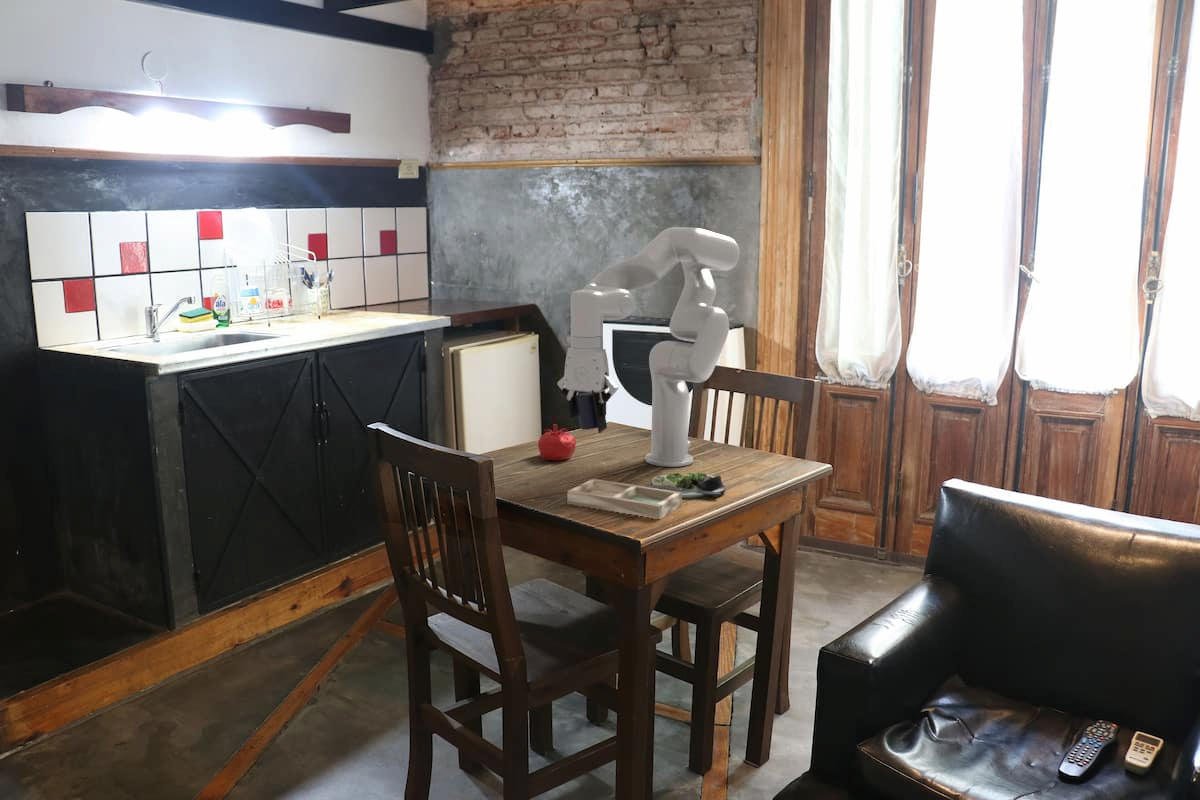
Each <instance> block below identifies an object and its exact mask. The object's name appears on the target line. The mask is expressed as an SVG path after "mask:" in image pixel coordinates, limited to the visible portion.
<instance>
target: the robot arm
mask: <svg viewBox="0 0 1200 800" xmlns="http://www.w3.org/2000/svg"><path fill="white" fill-rule="evenodd" d="M740 255H741V253H740V247H739V245H738V243H737V242H736V240H735V239H733V238H732V237H731V236H726V235H724V234H720V233H716V232H713V231H710V230H707V229H703V228H700V227H686V226H684V227H682V226H672V227H667V228H666V229H665V228H664V230H662V231H661V232H660V233H658V235H656V236H655V237H654V238H653V239H652V240H651V241H649V243H647V244H646V245H645V246H644V247H643V248H642V249H641V250H640V251H639V252H638V253H637V254H636V255H635V254H634V256H632V257H630V258H628V259H625V260H623V261H620V262H618V263H617V264H614V265H612V266H610V267H608V268H606V269H604V270H603V271H601V272H599V273H598V274H597V275H595V277H593V278H592V279H591V280H590V281H589V282H588V283H587V284H586V285H585V286H584V287H583V288H582V289H577V290H575V291H573V292H572V293H571V295H570V336H567V337H566V342H567V343H569V344H570V347H567V351H566V357H565V362H564V363H565V364H564V375H563V377H561V378H560V379H559V381H557V386H558V387H559V388H560V390H561V391H562V393H563V394H564V396H565V397H566V400H567V401H568V412H569V418H574V417H577V416H578V411H577V405H576V398H575V396H576V395H578V394H579V392H581V393H586V392H589V393H592V390H593V391H594V393H596V397H597V399H598V402H599V403H598V404H597V409H598V416H599V420H601V419H604V418H605V417H606V415H607V402H609V400H610V399H611V398H612V397H613V396H614V394H616V392H618V390H619V387H618V386H617V384H616V383H615V382H614V381H613V380H612V379H611V378H610V370H609V369H610V368H609V361H608V360H609V359H608V356H607V351H606V348H604V320H615V321H616V320H617V321H618V320H619V321H620V320H623V319H626V318H627V317H629V316H630V315H631V314H632V312H633V311H634V309H635V303H636V302H635V297H634V296H633V295H632V293H631V292H630V291H631V290H636V289H637V290H638V289H642V288H646V287H649V286H653V285H655V284H657V283H658V282H660V281H661V280H662V279H663V278H664V277H665V276H666V275H667V274H668V273H669V272H670V271H672V269H673V268H674V267H675V266H677V265H678V264H679V263H681V267H682V269H683V274H684V286H683V289H682V292H681V295H680V297H679V299H678V301H677V304H676V306H675V309H674V311H673V313H672V316H671V318H670V322H669V331H670V333H671V335H672V336H673V337H674V338H676V339H677V340H682V341H687V343H686V342H682V341H676V340H675V341H674V340H664V341H660V342H658V343H656V344H655V345H653V347H652V348H651V349H650V353H649V357H648V365H649V369H650V370H649V371H650V376H651V384H652V385H651V387H652V390H651V391H652V394H651V395H652V398H651V399H652V400H651V401H652V403H651V436H650V437H651V438H650V439H651V441H650V442H651V445H650V448H651V449H650V451H651V452H650V453H647V454H646V455H645V456H644V460H645V462H646V463H648V464H649V465H652V466H656V467H664V468H665V467H667V468H675V467H676V468H677V467H686V466H689V465H691V464H693V463H694V457H693V456H692V454H689V452H688V449H689V448H690V447H691V446H692V444H691V442H690V440H689V420H690V419H689V416H690V415H689V414H690V413H689V412H690V411H689V410H690V394H689V389H688V385H687V383H686V382H689V383H697V384H699V383H703V382H706V381H707V380H708V379H709V378H710V377H711V376H712V374H713V372H714V370H715V367H716V365H717V363H718V361H719V358H720V355H721V354H722V350H723V348H724V346H725V343H726V341H727V337H728V335H729V330H730V320H729V317H728V315H727V314H728V313H726V312H725V310H723V309H722V308H721V307H717V306H713V304H714V300H715V299H716V295H717V294H716V293H717V287H716V284H715V280H714V278H713V275H712V273H711V271H721V272H726V271H730V270H732V269H733V268H735V266H737V263H738V262H739V261H740ZM688 342H692V343H688ZM608 389H609V390H608ZM606 390H607V392H606Z"/></svg>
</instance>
